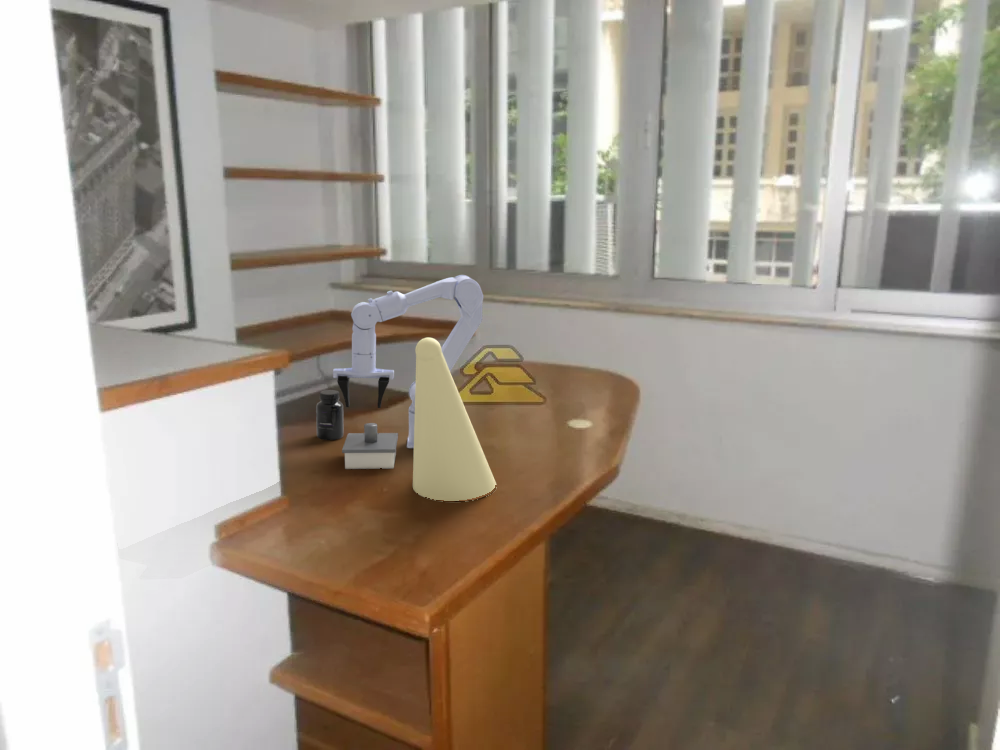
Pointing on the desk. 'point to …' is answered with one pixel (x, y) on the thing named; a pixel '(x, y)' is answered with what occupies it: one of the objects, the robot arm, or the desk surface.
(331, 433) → the supplement bottle
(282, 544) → the desk surface
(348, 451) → the gray lid
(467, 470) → the cone light
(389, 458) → the white open box
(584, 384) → the desk surface
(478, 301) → the robot arm
